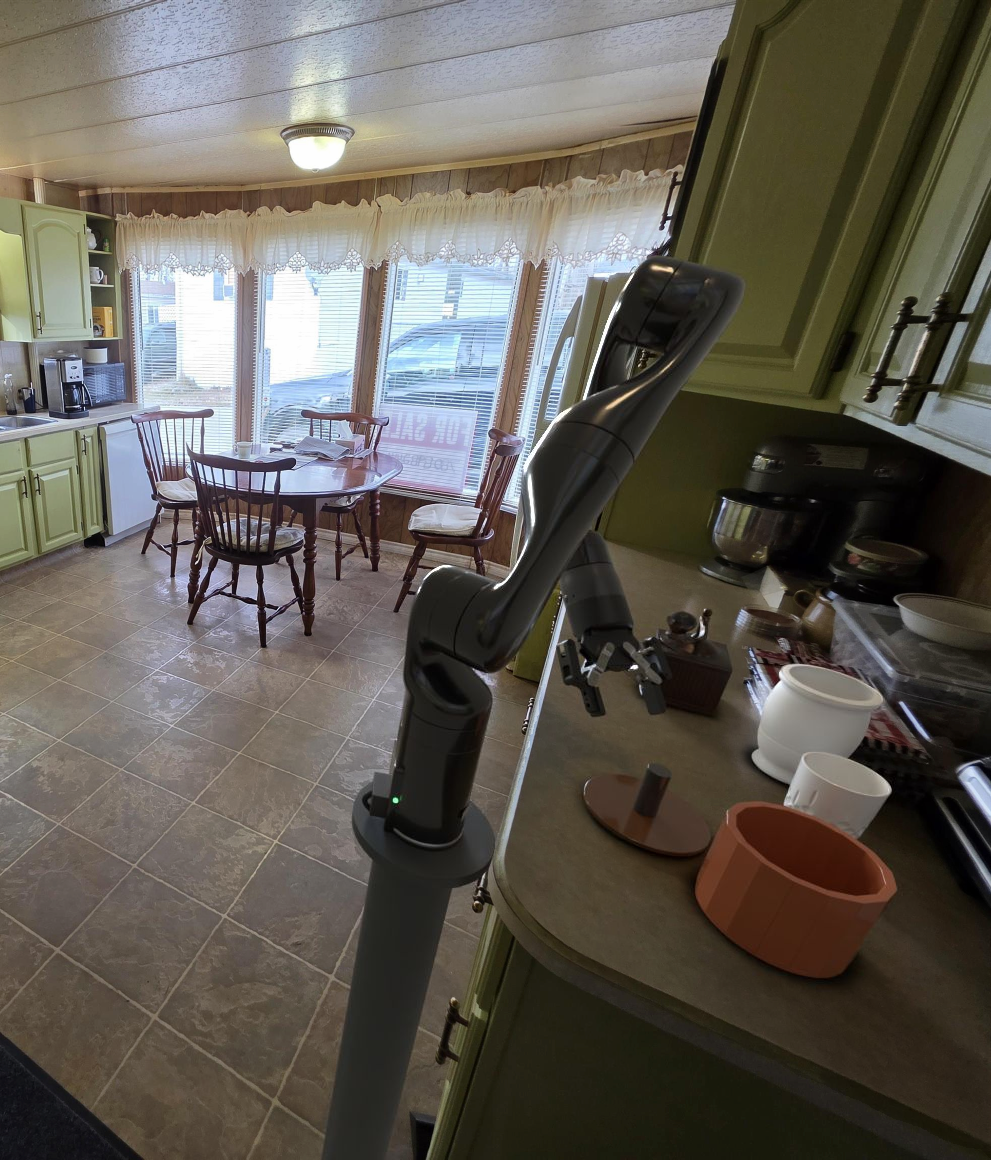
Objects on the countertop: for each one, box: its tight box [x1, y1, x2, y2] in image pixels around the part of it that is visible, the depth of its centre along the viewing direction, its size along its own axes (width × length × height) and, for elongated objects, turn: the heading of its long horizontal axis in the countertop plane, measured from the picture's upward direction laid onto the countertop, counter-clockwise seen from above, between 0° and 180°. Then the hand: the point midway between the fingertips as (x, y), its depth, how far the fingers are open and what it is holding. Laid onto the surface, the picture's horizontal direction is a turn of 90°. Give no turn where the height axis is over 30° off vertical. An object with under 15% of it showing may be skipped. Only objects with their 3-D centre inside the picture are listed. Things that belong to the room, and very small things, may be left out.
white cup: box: [783, 752, 893, 840], centre depth 75 cm, size 8×8×10 cm
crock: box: [694, 800, 898, 979], centre depth 64 cm, size 13×13×10 cm
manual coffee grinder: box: [638, 608, 733, 717], centre depth 102 cm, size 16×11×18 cm
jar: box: [751, 663, 884, 786], centre depth 86 cm, size 11×10×15 cm
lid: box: [582, 763, 711, 857], centre depth 78 cm, size 14×14×8 cm
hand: (628, 715), depth 81 cm, fingers open, 8 cm apart
